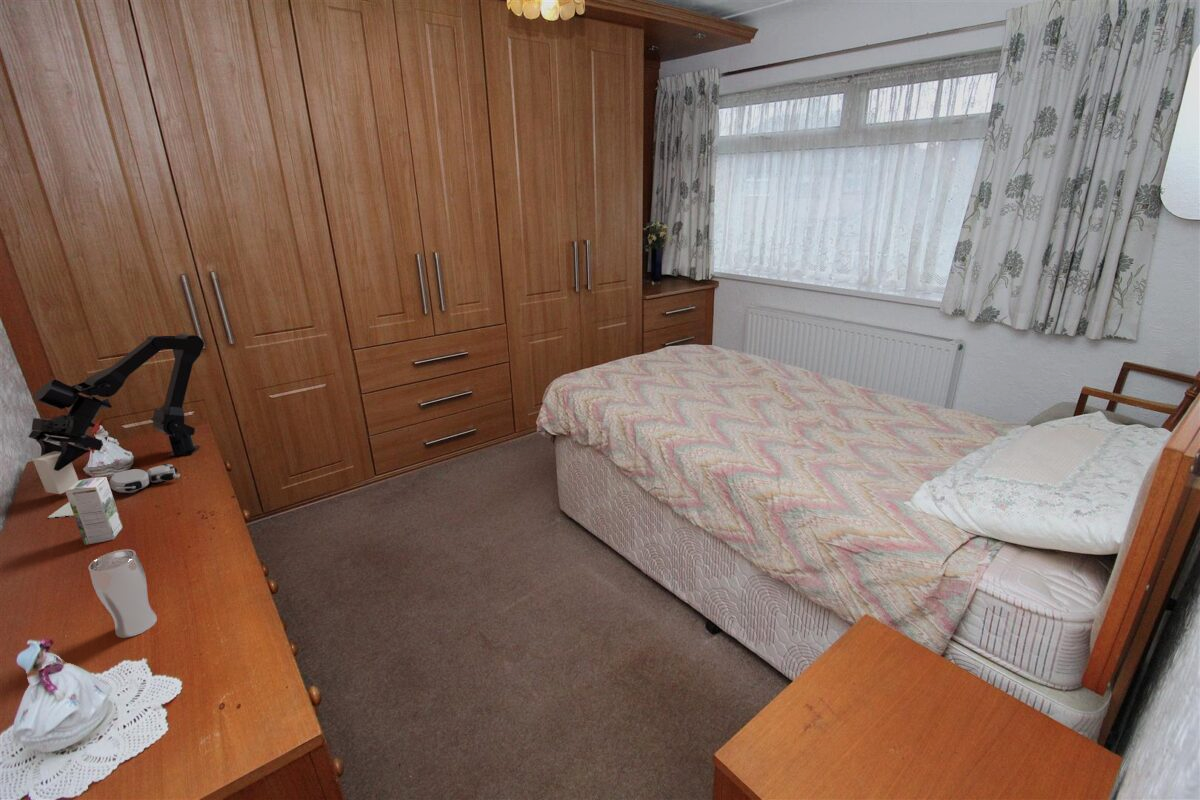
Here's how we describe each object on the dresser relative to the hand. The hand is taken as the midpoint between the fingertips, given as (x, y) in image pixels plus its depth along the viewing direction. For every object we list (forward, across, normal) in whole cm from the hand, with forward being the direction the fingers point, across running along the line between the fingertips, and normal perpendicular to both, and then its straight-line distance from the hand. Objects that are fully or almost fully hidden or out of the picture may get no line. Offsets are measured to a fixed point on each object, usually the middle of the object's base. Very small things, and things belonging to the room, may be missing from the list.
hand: (48, 469), depth 144 cm
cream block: (+4, 0, +6) cm, 7 cm away
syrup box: (+14, +32, -1) cm, 35 cm away
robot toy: (-2, +15, +15) cm, 21 cm away
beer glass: (+29, +70, -16) cm, 78 cm away
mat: (+8, +10, +4) cm, 14 cm away
